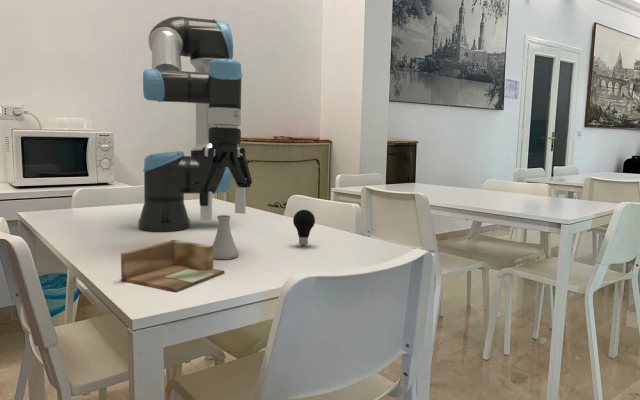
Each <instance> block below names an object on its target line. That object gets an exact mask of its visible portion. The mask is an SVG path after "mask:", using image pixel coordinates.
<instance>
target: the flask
mask: <svg viewBox="0 0 640 400" xmlns="http://www.w3.org/2000/svg"><path fill="white" fill-rule="evenodd" d="M216 217H217V221H218V223H217V224H218V225H217V230H216V235H215V237H214V241H213V243H212V246H213V259H215V260H232V259H235V258H238V256H239V253H238V250H237V247H236V244H235V241H234V237H233V235H232V232H231V226H230V219H231V215H228V214H227V215H226V214H224V215H223V214H222V215H220V214H219V215H217V216H216Z"/></svg>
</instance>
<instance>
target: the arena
mask: <svg viewBox="0 0 640 400" xmlns="http://www.w3.org/2000/svg"><path fill="white" fill-rule="evenodd" d="M120 264H121V265H120V266H121V267H120V270H121V273H120V274H121V275H120V276H121V278H120V279H121V281H122V282H127V283H130V284H135V285H140V286H145V287H151V288H154V289H161V290H165V291H169V292H175V293H177V292H180V291H183V290H185V289H188V288H191V287H193V286H195V285H196V286H197V285H198V284H201V283H204V282H206V281H209V280H211V279H214V278H216V277H219V276H221V275H225V270H224V269H222V270H221V269H217V268H214V258H213V245H209V244H203V243H194V242H189V241H181V240H177V239H176V240H175V239H172V240H169V241H164V242H163V241H162V242H159V243H156V244H152V245H148V246H144V247H141V248H136V249H132V250H129V251H124V252H121V253H120Z"/></svg>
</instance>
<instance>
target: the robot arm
mask: <svg viewBox="0 0 640 400" xmlns="http://www.w3.org/2000/svg"><path fill="white" fill-rule="evenodd" d="M148 46H149V49H150V51H151V68H146V69H144V70H143V73H142V86H143V87H142V88H143V89H142V92H143V93H142V95H143V98H144V99H145V100H147V101H154V102H157V103H163V102H166V103H170V102H171V103H186V104H187V103H188V104H189V103H190V104H195V145H194V147H192V149H191V150H190V155H185V153H184V151H181V150H179V151H168V152H166V151H165V152H158V153H152V154H148V155H147V156H145V158H144V162H143V163H144V164H143V165H144V166H143V173H144V178H143V179H144V180H143V181H144V185H143V186H144V188H143V189H144V190H143V191H144V196H143V197H144V199H143V200H144V203H143V206H142V210H141V214H140V218H139V219H138V229H140V230H142V231H147V232H176V231H181V230H187V229H189V228H190V225H191V224H190V222H191V221H190V218H189V216H188V213H187V212H188V211H187V209H186V205H185V194H194V195H195V194H199V207H200V210H199V211H200V213H199V214H200V220H202V221H209V222H210V221H213V195H215V194H225V193H227V192H228V191H229V190H230V188H231V186H232V181H233V180H234V182H235V184H236V185H237V186H236V187H235V188H234V189H235V190H234V193H235V195H234V213H235V214H241V215H243V214H246V213H247V211H246V210H247V206H246V205H247V188H250V187H251V186H252V182H253V180H252V176H251V173H250V170H249V169H250V168H249V164H248V162H247V161H248V160H247V158H246V148H245V147H238V146H237V145H241V143H242V130H241V129H240V128H239V127H240V126H241V125H242V119H241V118H242V106H241V105H242V80H243V79H242V78H243V74H242V65H241V62H240V61H239V60H235V59H233V56H234V40H233V34H232V30H231V27H230V24H228V22H226V21H223V20H218V19H217V20H216V19H215V18H214V19H206V18H198V17H187V16H172V17H168V18H165V19H164V20H161V21H159V22H158V23H157V24H156V25H154V26H153V27H152V29H151V30H150V32H149V35H148ZM181 57H184V58H185V57H187V58H189V60H190V64H191V65H192V66H193V68H194V69H195V70H194V71H187V70H186V71H184V70H182V69H183V68H182V60H181Z"/></svg>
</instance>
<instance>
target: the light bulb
mask: <svg viewBox="0 0 640 400" xmlns="http://www.w3.org/2000/svg"><path fill="white" fill-rule="evenodd" d="M314 215H315V214H313V212H312V211H311V210H307V209H301V210H298V211H297V212H295V214H294V215H293V219H292V222H293V225H294V227H295V229H296V230H297V236H298V243H299V244H300V245H301V247H305V246H307V245H308V243H309V236H310V233H311V231H312V228H314V227H315V223H316V218H315V216H314Z"/></svg>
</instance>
